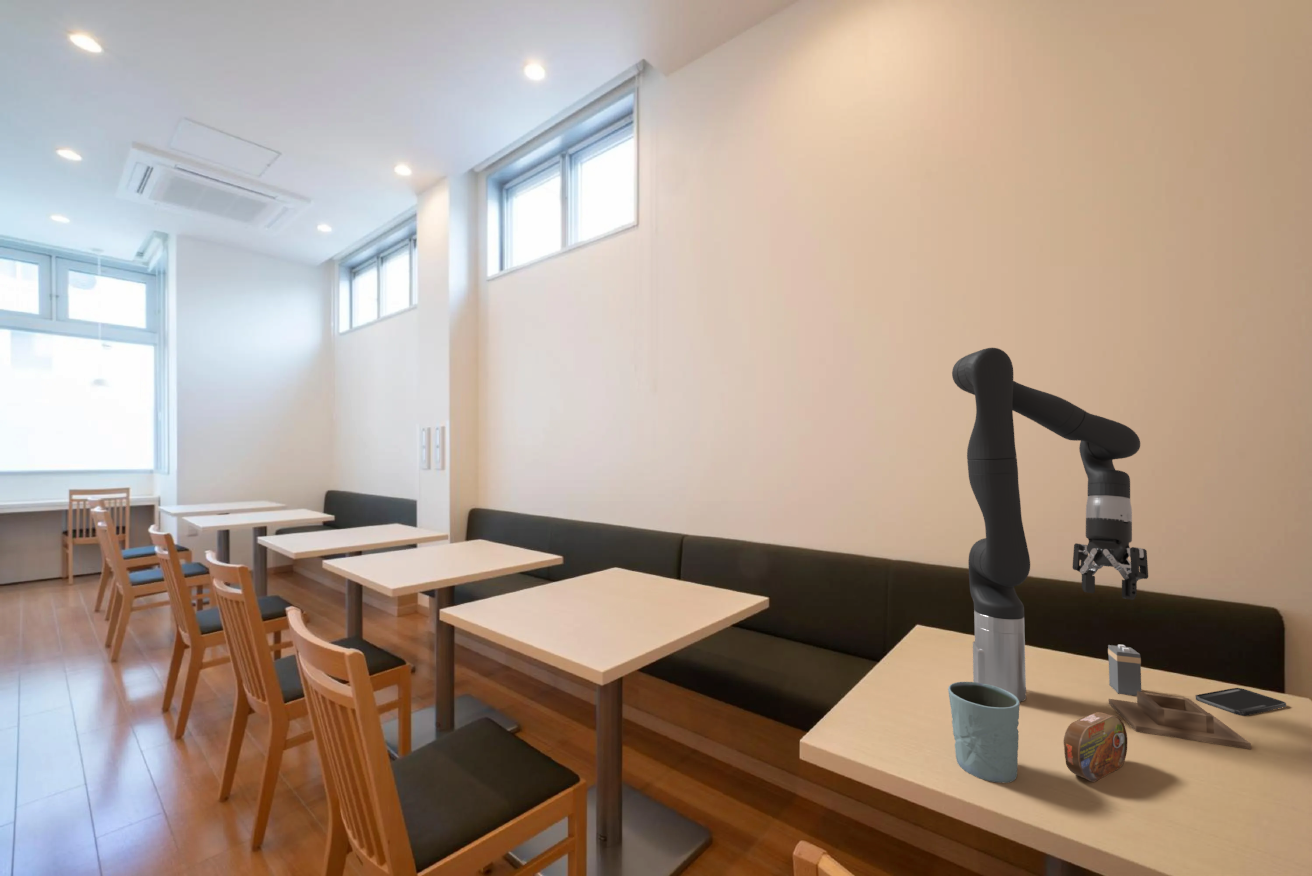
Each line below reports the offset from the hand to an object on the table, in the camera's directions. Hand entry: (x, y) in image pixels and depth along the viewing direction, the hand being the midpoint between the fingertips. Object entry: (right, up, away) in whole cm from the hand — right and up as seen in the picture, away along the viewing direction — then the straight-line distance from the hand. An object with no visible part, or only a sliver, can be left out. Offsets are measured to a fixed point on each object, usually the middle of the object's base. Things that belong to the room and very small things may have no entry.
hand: (1107, 595), depth 110 cm
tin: (-23, -22, -24) cm, 39 cm away
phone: (+28, -23, 0) cm, 36 cm away
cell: (+9, -23, +6) cm, 25 cm away
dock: (+5, -22, -9) cm, 24 cm away
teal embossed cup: (-41, -22, -23) cm, 51 cm away
